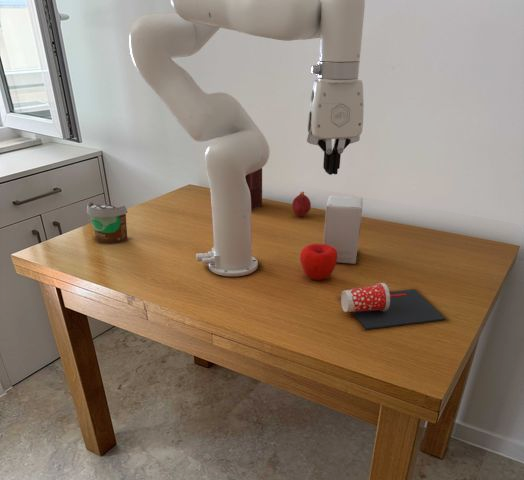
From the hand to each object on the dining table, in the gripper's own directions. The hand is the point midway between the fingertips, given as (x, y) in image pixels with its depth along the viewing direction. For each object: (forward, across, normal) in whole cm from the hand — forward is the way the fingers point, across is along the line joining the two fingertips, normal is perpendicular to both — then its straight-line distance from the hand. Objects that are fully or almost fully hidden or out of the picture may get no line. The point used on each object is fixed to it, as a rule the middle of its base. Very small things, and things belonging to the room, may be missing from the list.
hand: (331, 172), depth 106 cm
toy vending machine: (+27, -5, +65) cm, 71 cm away
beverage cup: (+24, 0, -12) cm, 27 cm away
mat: (+27, +12, -12) cm, 32 cm away
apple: (+27, +1, +7) cm, 28 cm away
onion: (+27, +10, +51) cm, 59 cm away
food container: (+27, -50, +44) cm, 72 cm away
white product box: (+27, +11, +18) cm, 35 cm away
